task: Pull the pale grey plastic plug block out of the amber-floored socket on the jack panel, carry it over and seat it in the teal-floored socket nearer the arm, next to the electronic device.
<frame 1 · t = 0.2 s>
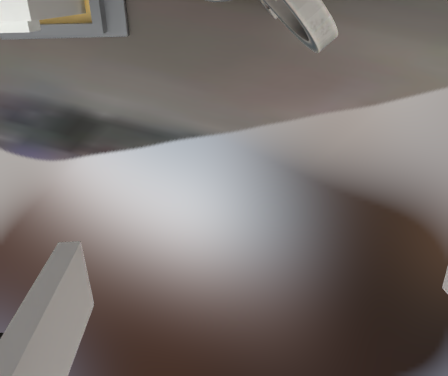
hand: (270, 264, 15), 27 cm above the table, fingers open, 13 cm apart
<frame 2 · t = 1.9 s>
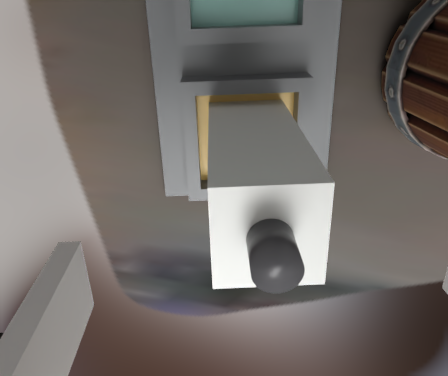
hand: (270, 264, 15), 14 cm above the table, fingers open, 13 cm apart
jack panel: (243, 55, 25), on the table
plug: (245, 135, 26), point 1 cm above the table, touching jack panel
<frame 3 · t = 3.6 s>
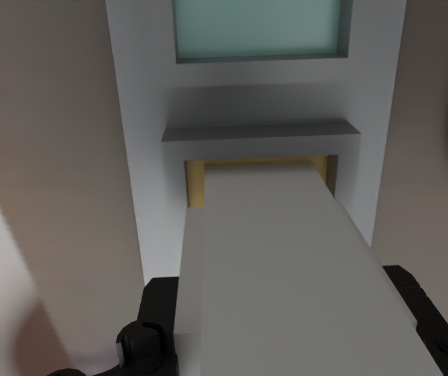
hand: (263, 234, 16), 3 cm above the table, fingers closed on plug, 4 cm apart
jack panel: (255, 97, 17), on the table
plug: (257, 208, 18), point 1 cm above the table, touching gripper, jack panel
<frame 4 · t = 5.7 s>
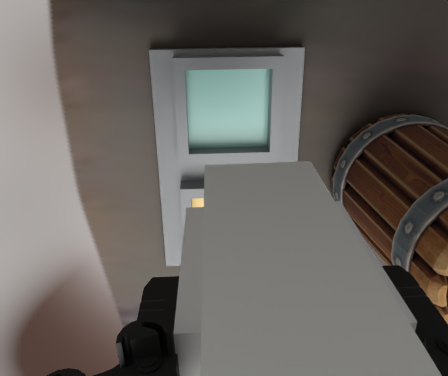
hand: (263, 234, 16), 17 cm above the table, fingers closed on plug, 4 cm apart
mug: (404, 192, 35), on the table
jack panel: (227, 164, 33), on the table
plug: (257, 209, 18), point 15 cm above the table, touching gripper
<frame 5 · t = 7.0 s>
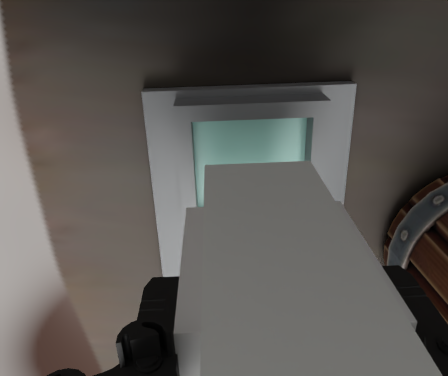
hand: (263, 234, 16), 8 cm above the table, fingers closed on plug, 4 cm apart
jack panel: (248, 230, 26), on the table
plug: (257, 209, 18), point 6 cm above the table, touching gripper
when the fingers open (4 cm above the table, at t = 8.1 s): plug drops 1 cm, resting on jack panel.
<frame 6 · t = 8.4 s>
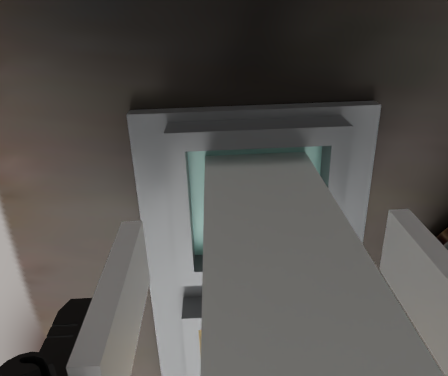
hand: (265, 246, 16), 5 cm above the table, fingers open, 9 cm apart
jack panel: (252, 269, 22), on the table
plug: (255, 198, 19), point 1 cm above the table, touching jack panel
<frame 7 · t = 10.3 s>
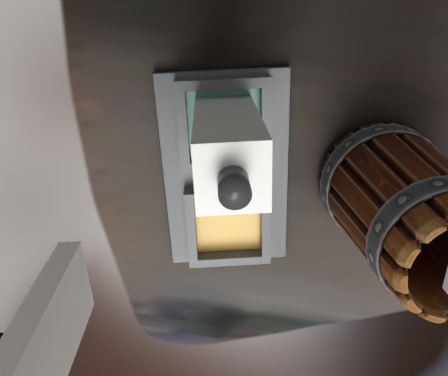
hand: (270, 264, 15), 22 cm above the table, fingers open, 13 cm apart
mug: (387, 192, 39), on the table
jack panel: (225, 171, 37), on the table
plug: (224, 122, 34), point 1 cm above the table, touching jack panel
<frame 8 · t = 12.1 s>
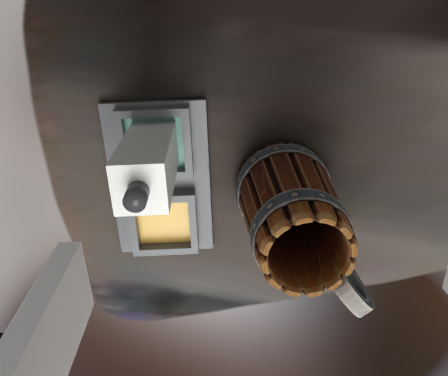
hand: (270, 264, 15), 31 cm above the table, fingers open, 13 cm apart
mug: (293, 197, 48), on the table
jack panel: (161, 179, 46), on the table
plug: (155, 141, 44), point 1 cm above the table, touching jack panel
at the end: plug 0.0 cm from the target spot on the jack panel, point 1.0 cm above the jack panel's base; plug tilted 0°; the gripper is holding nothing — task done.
